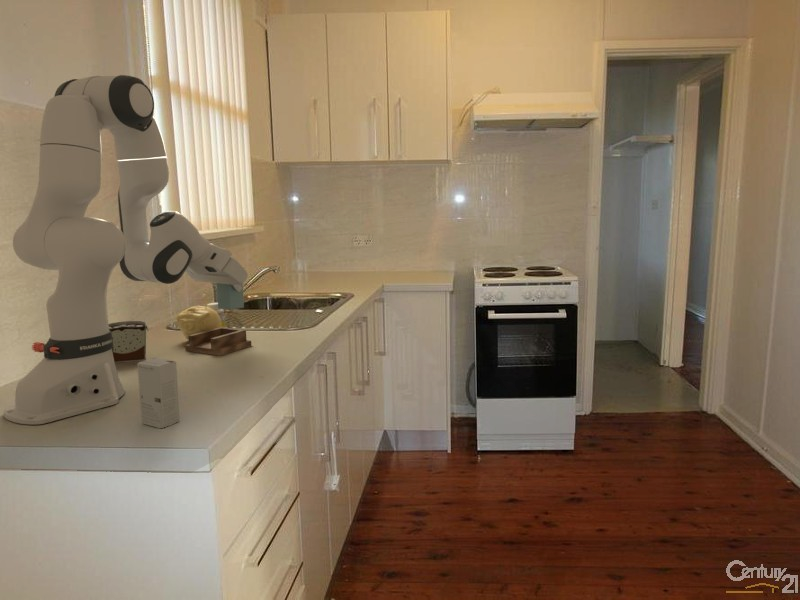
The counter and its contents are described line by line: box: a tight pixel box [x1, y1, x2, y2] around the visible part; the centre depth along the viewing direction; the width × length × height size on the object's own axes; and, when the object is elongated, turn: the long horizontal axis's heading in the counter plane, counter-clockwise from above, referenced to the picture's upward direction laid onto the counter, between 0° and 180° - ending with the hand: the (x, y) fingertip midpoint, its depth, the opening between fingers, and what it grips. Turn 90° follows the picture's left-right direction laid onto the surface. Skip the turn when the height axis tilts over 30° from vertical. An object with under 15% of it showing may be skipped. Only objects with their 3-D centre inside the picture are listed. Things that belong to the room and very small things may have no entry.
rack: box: [184, 327, 252, 356], centre depth 166 cm, size 12×14×4 cm
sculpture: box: [176, 304, 222, 341], centre depth 175 cm, size 11×12×11 cm
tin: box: [216, 283, 245, 311], centre depth 164 cm, size 5×5×10 cm
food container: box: [108, 320, 149, 363], centre depth 157 cm, size 12×6×10 cm, turn 104°
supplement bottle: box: [206, 302, 227, 328], centre depth 182 cm, size 6×6×10 cm
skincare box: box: [137, 357, 180, 429], centre depth 109 cm, size 6×4×12 cm
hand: (231, 288), depth 165 cm, fingers closed on tin, 5 cm apart
